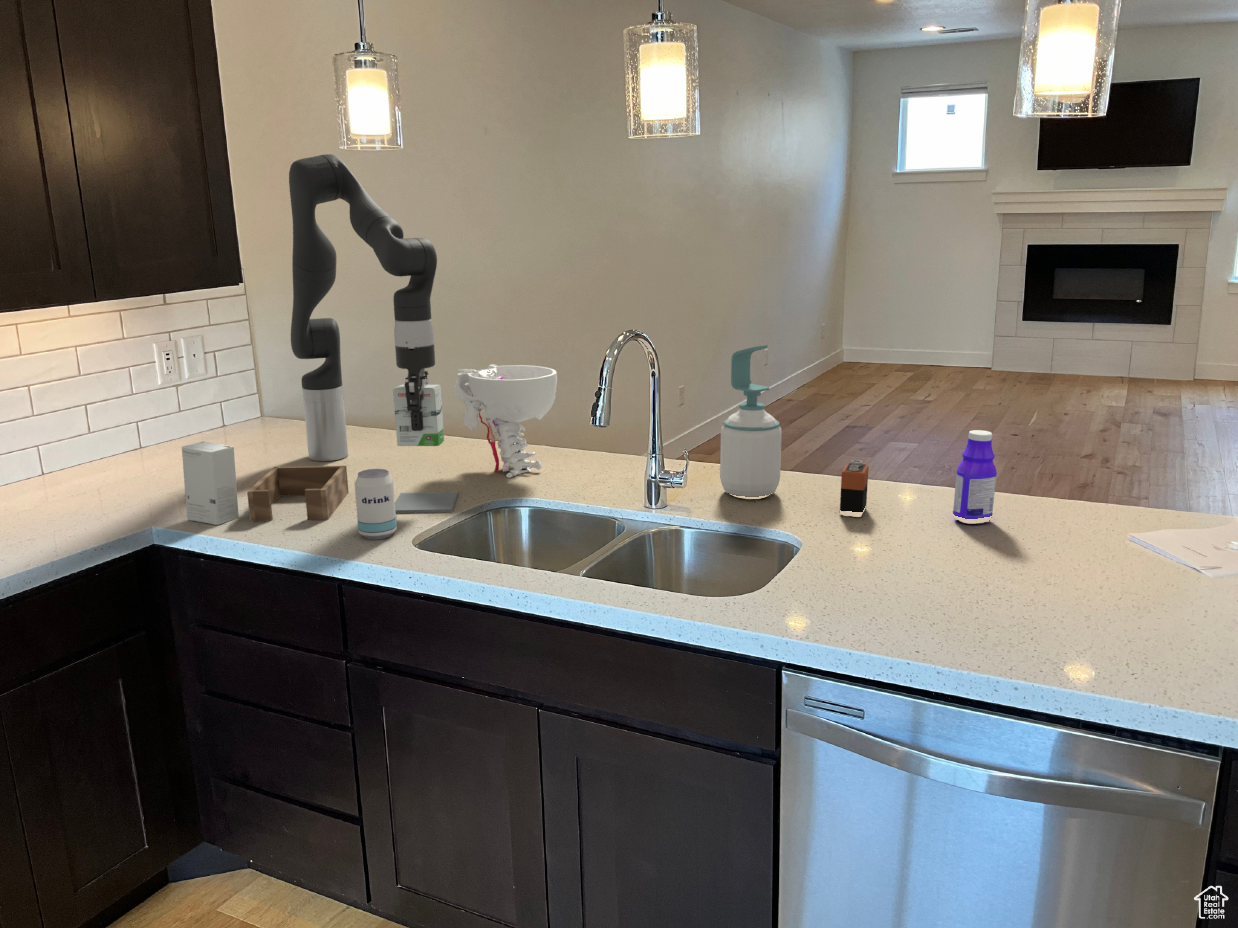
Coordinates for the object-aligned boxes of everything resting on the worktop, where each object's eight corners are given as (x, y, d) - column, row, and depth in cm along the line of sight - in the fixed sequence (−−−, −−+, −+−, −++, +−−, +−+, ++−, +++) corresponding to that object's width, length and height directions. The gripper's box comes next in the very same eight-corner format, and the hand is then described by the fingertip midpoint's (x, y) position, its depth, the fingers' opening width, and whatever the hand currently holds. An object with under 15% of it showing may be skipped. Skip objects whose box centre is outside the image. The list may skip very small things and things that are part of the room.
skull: (573, 465, 232) (571, 367, 226) (539, 486, 215) (535, 381, 209) (477, 456, 240) (473, 362, 234) (437, 476, 223) (431, 375, 217)
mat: (400, 495, 209) (400, 492, 209) (458, 494, 210) (458, 491, 210) (390, 513, 198) (390, 510, 198) (451, 511, 198) (451, 509, 198)
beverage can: (359, 542, 181) (354, 479, 178) (358, 531, 187) (353, 469, 184) (398, 539, 183) (393, 476, 180) (395, 527, 189) (391, 466, 186)
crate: (277, 494, 211) (274, 466, 210) (348, 492, 212) (346, 465, 210) (250, 521, 194) (247, 491, 192) (328, 519, 194) (325, 489, 193)
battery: (866, 508, 198) (869, 459, 195) (861, 518, 192) (864, 468, 189) (844, 506, 199) (846, 458, 197) (839, 516, 193) (841, 466, 191)
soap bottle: (750, 506, 200) (754, 351, 192) (707, 493, 209) (709, 344, 201) (792, 494, 207) (797, 345, 199) (748, 482, 217) (751, 339, 209)
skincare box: (186, 520, 195) (177, 446, 191) (210, 512, 200) (201, 440, 196) (219, 526, 191) (210, 451, 187) (242, 517, 196) (234, 443, 193)
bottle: (977, 514, 193) (985, 427, 189) (998, 523, 188) (1006, 433, 184) (946, 519, 191) (953, 430, 186) (966, 528, 186) (974, 437, 181)
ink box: (445, 441, 202) (442, 383, 199) (438, 447, 198) (435, 388, 195) (403, 440, 203) (399, 382, 200) (396, 446, 199) (391, 387, 195)
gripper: (401, 338, 202) (406, 419, 206) (388, 348, 188) (394, 435, 193) (438, 337, 202) (443, 419, 207) (428, 347, 188) (433, 435, 193)
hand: (419, 426), depth 200 cm, fingers closed on ink box, 5 cm apart
